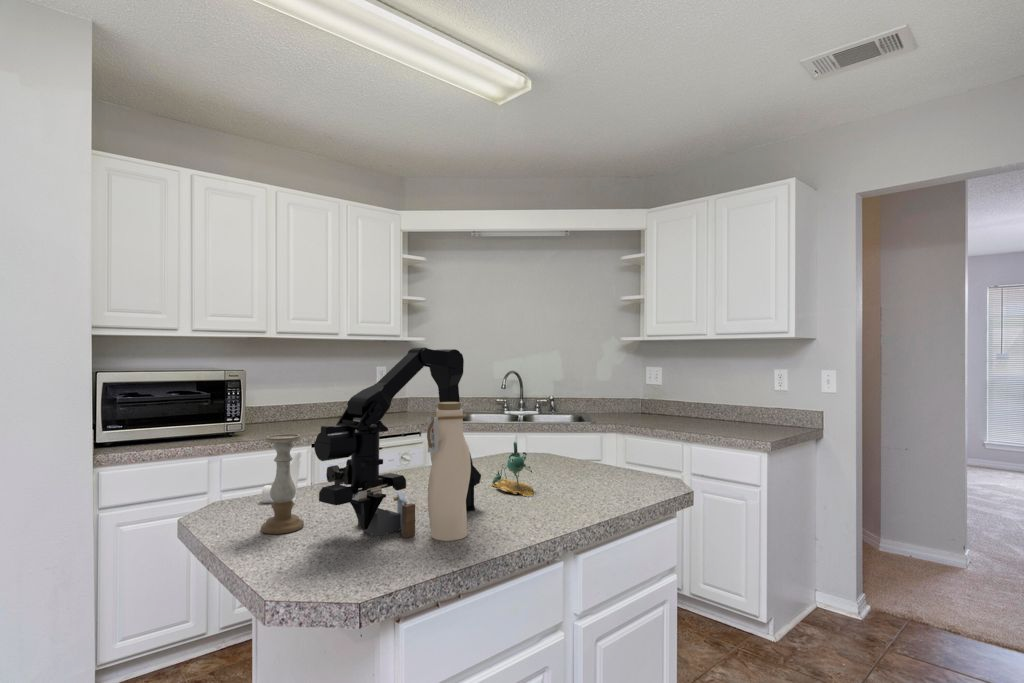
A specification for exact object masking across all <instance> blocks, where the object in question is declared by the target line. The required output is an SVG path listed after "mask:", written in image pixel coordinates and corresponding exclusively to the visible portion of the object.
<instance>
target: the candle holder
mask: <svg viewBox="0 0 1024 683" xmlns="http://www.w3.org/2000/svg"><path fill="white" fill-rule="evenodd" d="M302 436H303V435H301V434H298V433H282V434H281V433H279V434H272V435H271V434H270V435H267V436H265V437H264V442H265V443H268V444H273V445H272V447H273V449H274V450H275V452H276V456H275V458H274V459H273V461H274V462H275V463H276V464H275V465H276V471H275V472H276V473H275V477H274V481H273V482H272V484H271V485H272V487H271V489H270V497H271V499H272V500H273V501H274V503H271V505H270V507H271V509H272V510H273V512H274V514H273V516H270V517H268V518H267V519H266V521H265V522H264V523H262V524H261V525H260V531H261V532H262V533H264V534H267V535H268V534H269V535H281V534H288V533H293V532H296V531H299V530H301V529H302V528H303V527H304V526H305V521H304V520H303V519H302V518H300V516H299V515H297V514H293V513H292V510H293V508H294V506H295V501H294V502H292V499H293V498H294V496H295V495H296V496H297V493H296V487H295V484H294V482H293V480H292V478H291V474H290V464H291V462H292V461H293V458H294V457H292V455H291V451H292V448H294V443H295V442H300V441H302V440H303V439H302V438H303V437H302Z"/></svg>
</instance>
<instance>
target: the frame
mask: <svg viewBox="0 0 1024 683" xmlns="http://www.w3.org/2000/svg"><path fill="white" fill-rule="evenodd" d="M407 503H408V502H407ZM407 503H404V505H403V506H402V531H401V537H402V538H404V537H405V539H408V537H409V538H411V537H414V536H416V504H415V503H411V502H410V503H408V504H407ZM357 525H358V526H360V524H359V521H358V520H357Z"/></svg>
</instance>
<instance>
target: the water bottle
mask: <svg viewBox="0 0 1024 683" xmlns="http://www.w3.org/2000/svg"><path fill="white" fill-rule="evenodd" d="M463 412H464V411H463V408H462V402H438V403H437V408H436V412H435V414H434V415H433V416H430V417H429V416H427V422H426V423H427V433H426V439H427V453H430V462H431V467H430V471H429V476H428V484H427V508H428V510H427V512H428V520H429V525H430V536H431V538H433V539H434V540H436V541H442V542H444V541H445V542H446V541H447V542H451V541H457V540H462V539H464V538H466V537H467V536H468V519H467V517H468V516H467V510H466V497H467V492H468V486H469V480H470V473H471V459H470V454H471V452H470V447H469V445H468V443H467V441H466V439H465V436H464V425H463V424H464V419H465V418H467V417H468V415H467V414H466V413H463Z"/></svg>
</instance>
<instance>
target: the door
mask: <svg viewBox="0 0 1024 683" xmlns="http://www.w3.org/2000/svg"><path fill="white" fill-rule="evenodd" d="M393 502H396V503H397V504H396V506H397V507H396V508H397V510H396V511H397V512H396V513H400V530H401V532H402V506H403V505H404V503H407V504H409V503H408V502H407V499H406V497H405V494H404V492H402V491H401V492H397V495H396V496H393Z"/></svg>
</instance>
